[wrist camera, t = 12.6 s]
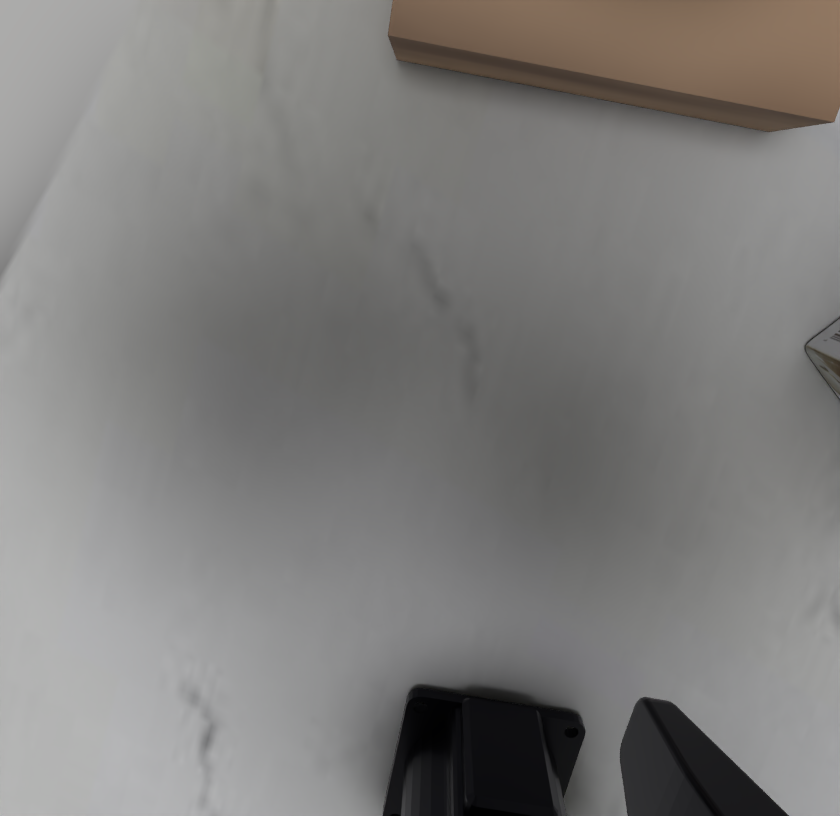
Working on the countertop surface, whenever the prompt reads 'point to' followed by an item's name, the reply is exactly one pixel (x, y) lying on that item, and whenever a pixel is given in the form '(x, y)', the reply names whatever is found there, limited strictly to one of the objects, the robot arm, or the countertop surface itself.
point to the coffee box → (827, 355)
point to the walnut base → (644, 52)
